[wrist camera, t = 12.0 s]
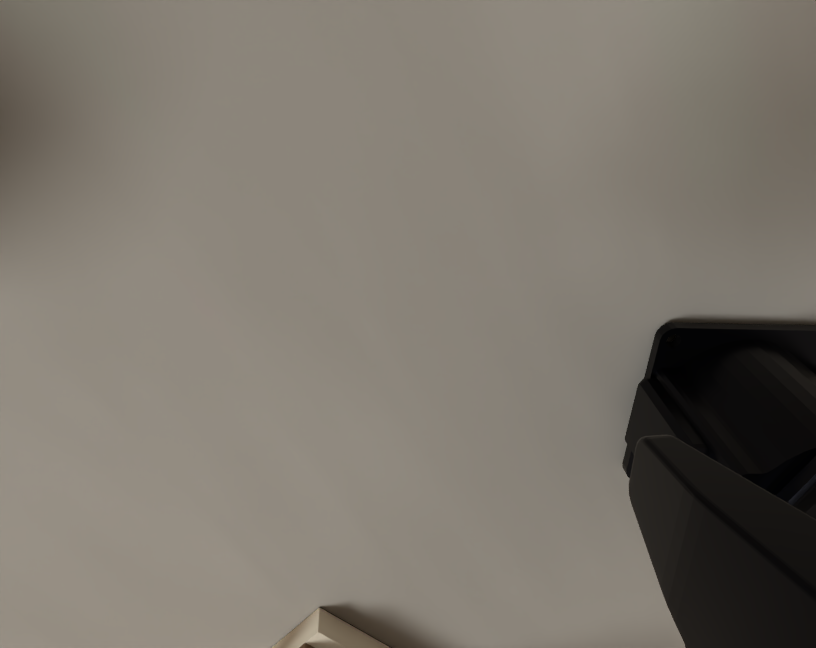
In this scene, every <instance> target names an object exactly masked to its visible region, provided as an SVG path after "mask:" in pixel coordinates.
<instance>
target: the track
mask: <svg viewBox="0 0 816 648" xmlns="http://www.w3.org/2000/svg"><path fill="white" fill-rule="evenodd" d="M272 648H390V647H388V646H387V645H385V644H383V643H381V642H380V641H378V640H376V639H374V638H372V637H371V636H369V635H367V634H365V633H364V632H362V631H360V630H358V629H357V628H355V627H353V626H351V625H349V624H348V623H346V622H344V621H342V620H341V619H339V618H337V617H335V616H334V615H332V614H330V613H328V612H326V611H325V610H323V609H321V608H318V609H317V610H316V611H314V612H313V613H312V614H311V615H310V616H309V617H307V618H306V619H305V620H304V621H303V622H301V623H300V624H299V625H298V626H297V627H296V628H294V629H293V630H292V631H291V632H290V633H288V634H287V635H286V636H285V637H284V638H283V639H281V640H280V641H279V642H278V643H277V644H276V645H274V646H273V647H272Z"/></svg>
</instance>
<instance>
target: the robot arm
mask: <svg viewBox="0 0 816 648" xmlns="http://www.w3.org/2000/svg"><path fill="white" fill-rule="evenodd" d="M675 334H676V337H675V339H674V340H672V341H670V342H667V339H668V338H669V337H670V336H671V335H675ZM625 441H626V443H627V448H626V452H625V456H624V460H623V469H624V470H625V472H626V474H627V476H628V477H629V478H630V480H629V496H630V500H631V504H632V507H633V510H634V512H635V515H636V518H637V521H638V524H639V527H640V530H641V533H642V535H643V538H644V541H645V544H646V547H647V550H648V553H649V556H650V559H651V561H652V564H653V567H654V570H655V573H656V576H657V579H658V582H659V584H660V587H661V590H662V593H663V595H664V598H665V601H666V603H667V606H668V608H669V610H670V612H671V615H672V617H673V619H674V622H675V624H676V626H677V628H678V630H679V632H680V634H681V636H682V638H683V641H684V643H685V647H686V648H816V326H813V325H765V324H716V323H667V324H665V325H663V326H661V327H660V328H659V329H658V330H657V332H656V334H655V337H654V341H653V345H652V349H651V353H650V357H649V361H648V365H647V369H646V373H645V377H644V379H643V380H642V381H641V382H640V383H639V384H638V388H637V392H636V396H635V400H634V404H633V408H632V412H631V416H630V420H629V424H628V428H627V432H626V436H625Z"/></svg>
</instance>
